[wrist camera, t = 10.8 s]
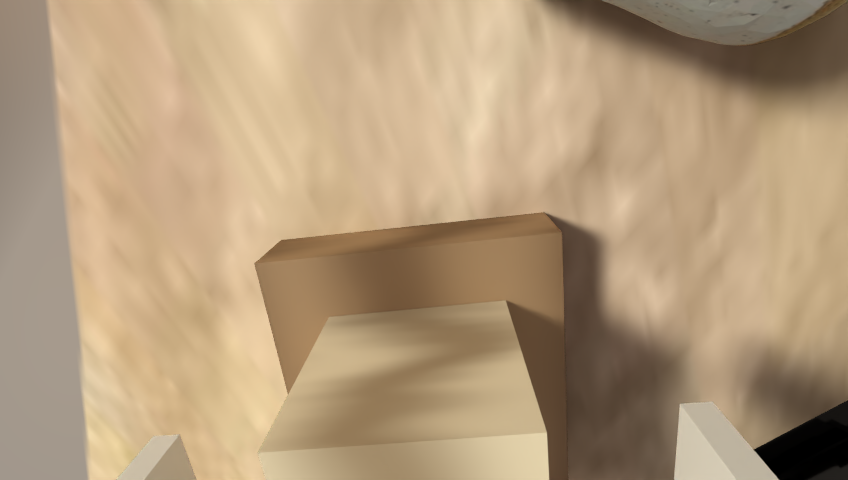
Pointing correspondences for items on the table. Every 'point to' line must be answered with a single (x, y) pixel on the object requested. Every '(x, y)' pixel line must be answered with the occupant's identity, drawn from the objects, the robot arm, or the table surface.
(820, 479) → the black plastic mount
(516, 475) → the maple block
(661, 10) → the ceramic mug
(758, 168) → the table surface
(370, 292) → the walnut block
